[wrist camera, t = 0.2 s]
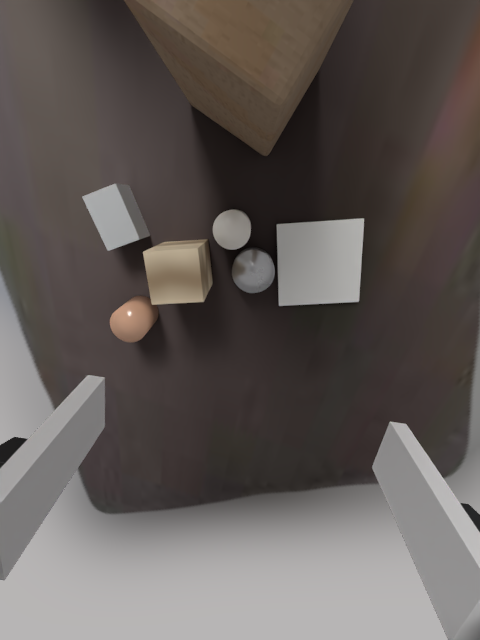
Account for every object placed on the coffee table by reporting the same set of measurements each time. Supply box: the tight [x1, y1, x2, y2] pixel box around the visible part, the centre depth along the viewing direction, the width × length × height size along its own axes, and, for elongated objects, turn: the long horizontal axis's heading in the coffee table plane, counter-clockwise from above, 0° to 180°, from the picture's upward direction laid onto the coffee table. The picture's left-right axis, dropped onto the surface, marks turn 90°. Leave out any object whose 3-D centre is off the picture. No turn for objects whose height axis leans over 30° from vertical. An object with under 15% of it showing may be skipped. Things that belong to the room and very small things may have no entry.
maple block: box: [143, 239, 213, 305], centre depth 36 cm, size 6×6×8 cm
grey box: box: [82, 183, 150, 251], centre depth 37 cm, size 6×4×4 cm, turn 19°
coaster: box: [276, 218, 364, 306], centre depth 39 cm, size 10×10×1 cm
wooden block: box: [124, 0, 354, 156], centre depth 24 cm, size 10×10×20 cm
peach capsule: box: [110, 296, 159, 342], centre depth 40 cm, size 4×4×5 cm
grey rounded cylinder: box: [213, 209, 251, 250], centre depth 36 cm, size 4×4×5 cm
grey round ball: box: [232, 247, 275, 293], centre depth 39 cm, size 5×5×3 cm
